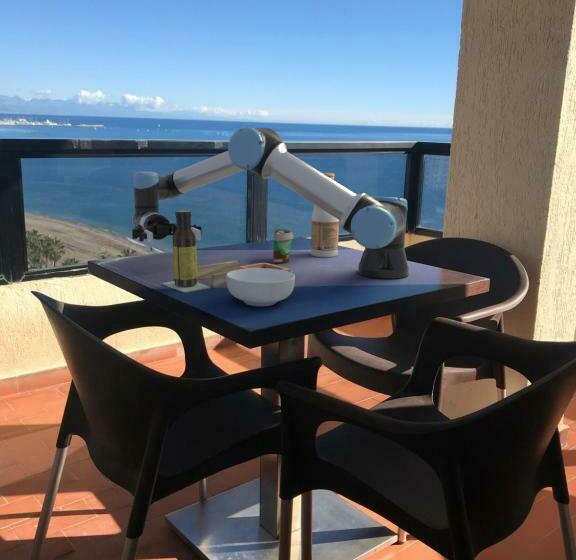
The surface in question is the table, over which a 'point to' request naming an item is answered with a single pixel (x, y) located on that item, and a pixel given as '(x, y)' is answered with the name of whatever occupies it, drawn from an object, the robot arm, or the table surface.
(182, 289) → the pad
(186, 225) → the sauce bottle
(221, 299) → the table surface
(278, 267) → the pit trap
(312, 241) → the fruit juice
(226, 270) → the trough
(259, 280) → the cereal bowl
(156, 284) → the table surface
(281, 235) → the food container
